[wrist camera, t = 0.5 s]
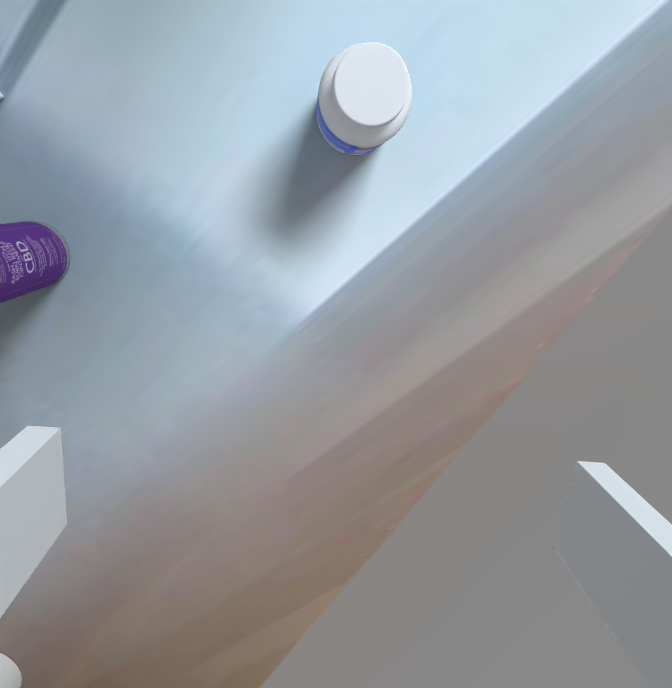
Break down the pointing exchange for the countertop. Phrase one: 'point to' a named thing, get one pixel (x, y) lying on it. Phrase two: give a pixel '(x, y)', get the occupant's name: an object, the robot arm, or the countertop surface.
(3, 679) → the cylindrical container
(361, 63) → the pill bottle
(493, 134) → the countertop surface
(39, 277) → the container
